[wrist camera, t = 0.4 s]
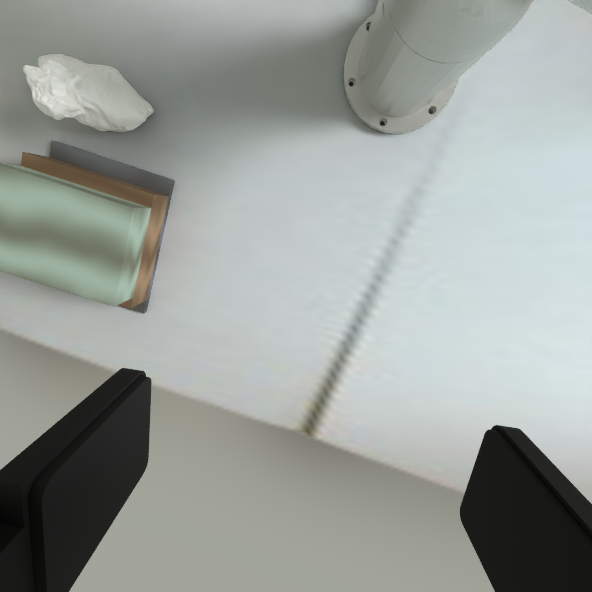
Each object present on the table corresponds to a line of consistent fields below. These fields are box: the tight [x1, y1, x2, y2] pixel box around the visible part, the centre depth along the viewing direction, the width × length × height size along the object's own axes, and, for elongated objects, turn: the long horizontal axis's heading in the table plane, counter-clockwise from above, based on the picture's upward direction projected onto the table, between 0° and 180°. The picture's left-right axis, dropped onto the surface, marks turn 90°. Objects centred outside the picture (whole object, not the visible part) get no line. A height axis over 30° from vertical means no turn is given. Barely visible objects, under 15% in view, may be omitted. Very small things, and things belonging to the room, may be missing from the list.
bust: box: [23, 54, 154, 132], centre depth 36 cm, size 12×8×11 cm
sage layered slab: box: [0, 141, 174, 314], centre depth 40 cm, size 18×15×9 cm
